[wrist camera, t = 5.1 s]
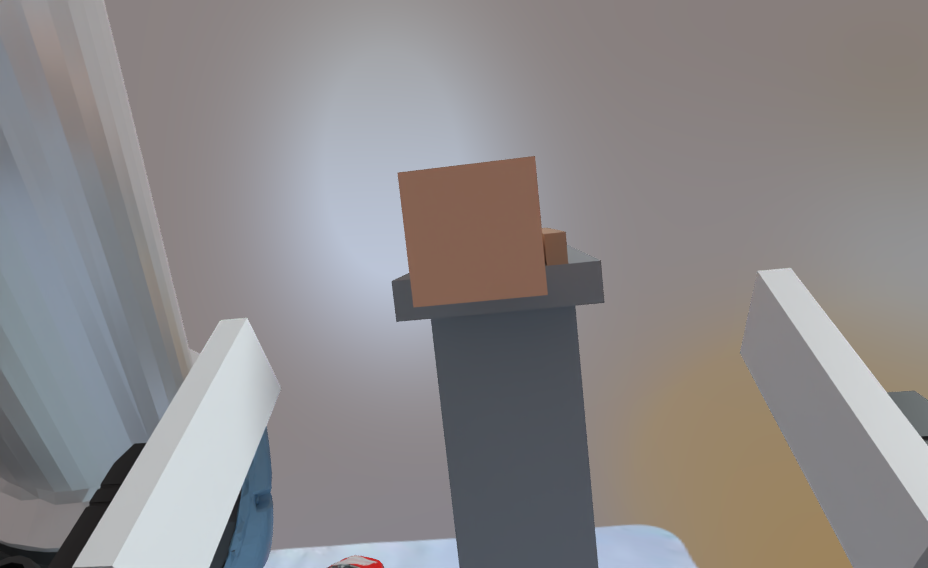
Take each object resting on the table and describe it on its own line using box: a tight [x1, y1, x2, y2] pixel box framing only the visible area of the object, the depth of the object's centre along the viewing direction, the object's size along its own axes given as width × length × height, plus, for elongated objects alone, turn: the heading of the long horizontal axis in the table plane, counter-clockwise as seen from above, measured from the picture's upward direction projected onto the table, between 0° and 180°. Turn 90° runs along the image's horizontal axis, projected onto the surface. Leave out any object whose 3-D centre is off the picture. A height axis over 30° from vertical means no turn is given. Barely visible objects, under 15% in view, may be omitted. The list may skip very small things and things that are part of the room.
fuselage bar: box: [398, 156, 548, 307], centre depth 29 cm, size 26×4×4 cm, turn 174°
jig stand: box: [392, 228, 604, 568], centre depth 36 cm, size 16×12×30 cm
